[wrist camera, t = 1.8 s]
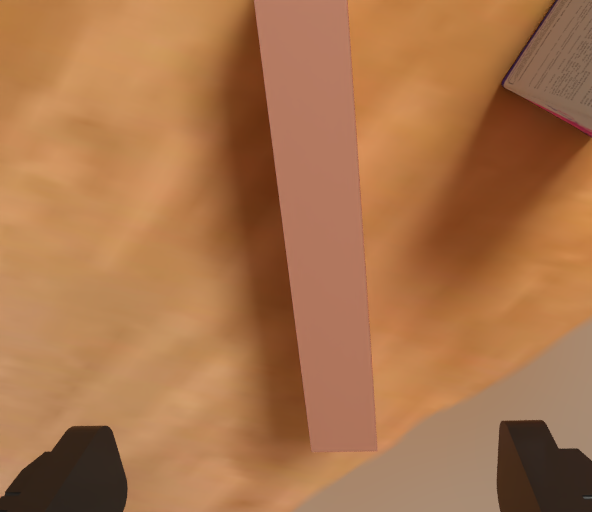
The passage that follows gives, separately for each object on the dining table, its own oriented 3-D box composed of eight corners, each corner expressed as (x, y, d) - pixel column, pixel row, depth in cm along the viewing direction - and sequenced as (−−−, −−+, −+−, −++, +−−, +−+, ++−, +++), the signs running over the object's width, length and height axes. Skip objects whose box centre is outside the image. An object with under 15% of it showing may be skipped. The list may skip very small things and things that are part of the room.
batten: (319, 375, 34) (311, 452, 28) (272, -36, 25) (246, -62, 19) (372, 373, 34) (377, 451, 27) (344, -46, 25) (341, -77, 19)
